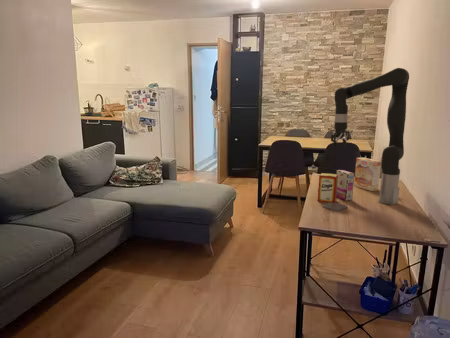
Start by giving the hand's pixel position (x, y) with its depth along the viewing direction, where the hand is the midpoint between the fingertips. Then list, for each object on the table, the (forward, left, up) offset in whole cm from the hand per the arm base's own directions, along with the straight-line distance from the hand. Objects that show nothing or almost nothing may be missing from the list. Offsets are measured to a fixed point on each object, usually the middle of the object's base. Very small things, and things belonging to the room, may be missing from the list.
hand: (339, 147), depth 216 cm
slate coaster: (-17, +25, -29) cm, 42 cm away
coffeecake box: (-3, -27, -29) cm, 40 cm away
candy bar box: (-9, +6, -29) cm, 31 cm away
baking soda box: (-7, +19, -29) cm, 35 cm away
